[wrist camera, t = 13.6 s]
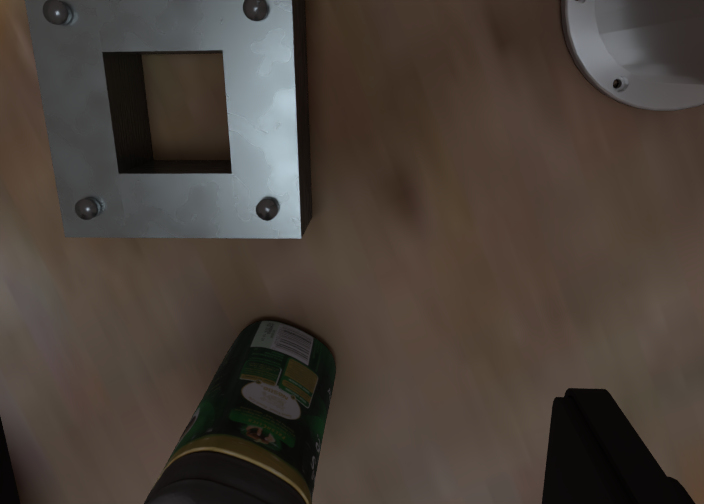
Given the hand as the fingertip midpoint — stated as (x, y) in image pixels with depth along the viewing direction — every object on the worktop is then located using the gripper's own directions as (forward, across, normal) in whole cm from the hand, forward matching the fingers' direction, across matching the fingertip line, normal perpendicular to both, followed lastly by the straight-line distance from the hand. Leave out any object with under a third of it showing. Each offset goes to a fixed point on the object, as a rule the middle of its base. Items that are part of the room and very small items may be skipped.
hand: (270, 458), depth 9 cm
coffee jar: (+28, +6, +15) cm, 33 cm away
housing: (+28, +10, -4) cm, 30 cm away
